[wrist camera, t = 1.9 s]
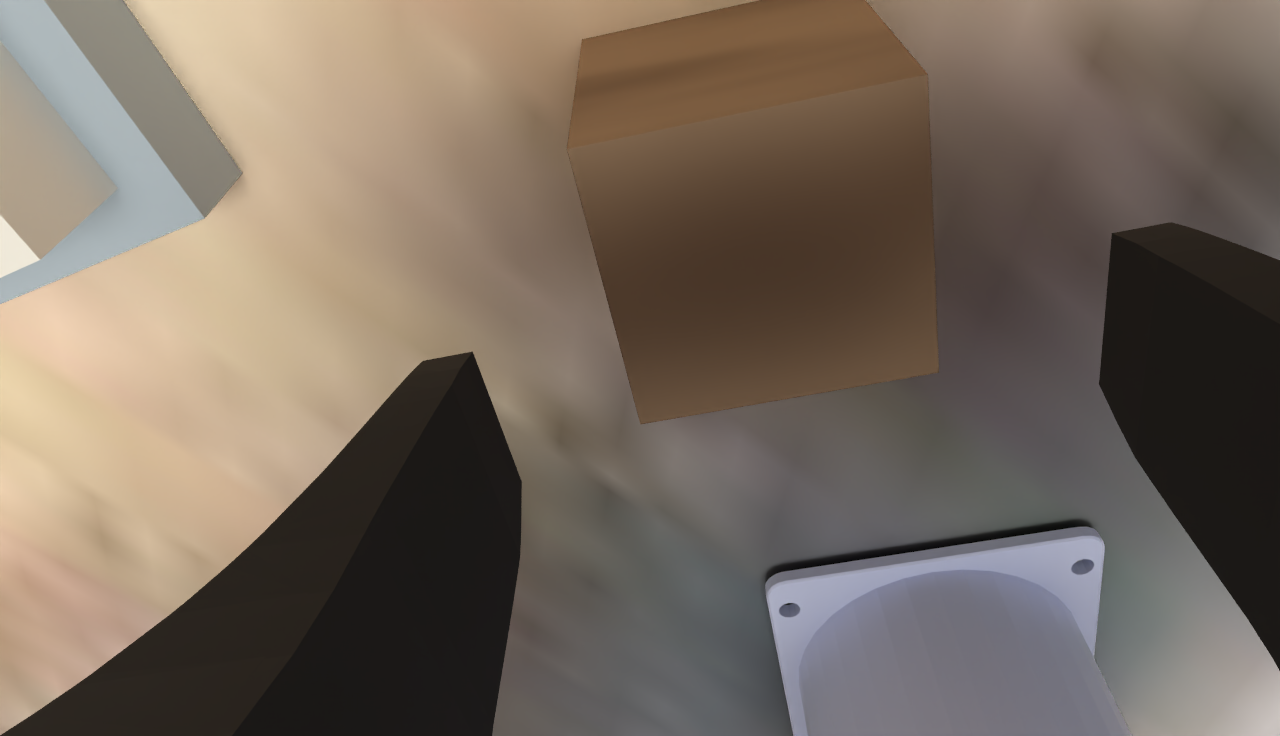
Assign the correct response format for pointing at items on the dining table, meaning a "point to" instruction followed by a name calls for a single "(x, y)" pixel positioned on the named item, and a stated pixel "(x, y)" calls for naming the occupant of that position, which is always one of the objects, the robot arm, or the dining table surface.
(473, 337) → the dining table surface
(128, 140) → the tower base slab
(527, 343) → the dining table surface
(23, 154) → the cream block
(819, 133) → the walnut block
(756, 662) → the dining table surface
